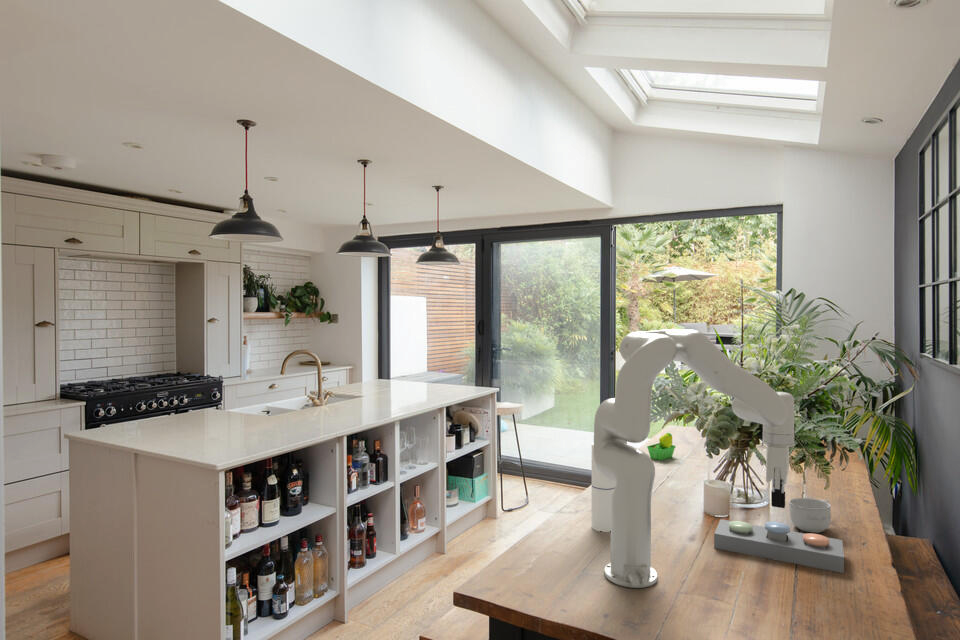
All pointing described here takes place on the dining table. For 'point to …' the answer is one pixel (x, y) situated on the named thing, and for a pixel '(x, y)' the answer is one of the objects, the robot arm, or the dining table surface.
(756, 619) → the dining table surface
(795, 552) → the button panel
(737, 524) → the button sage
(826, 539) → the button terracotta
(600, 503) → the cylindrical container
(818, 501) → the teacup
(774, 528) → the button slate
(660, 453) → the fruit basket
